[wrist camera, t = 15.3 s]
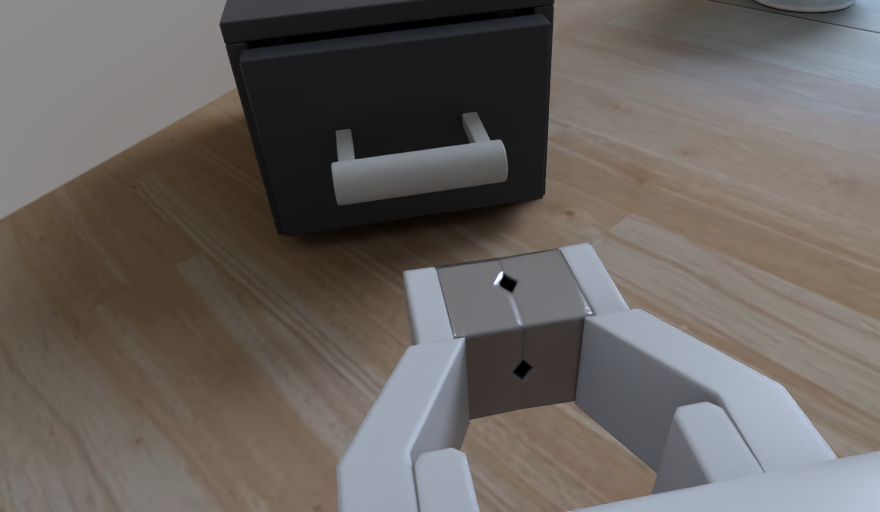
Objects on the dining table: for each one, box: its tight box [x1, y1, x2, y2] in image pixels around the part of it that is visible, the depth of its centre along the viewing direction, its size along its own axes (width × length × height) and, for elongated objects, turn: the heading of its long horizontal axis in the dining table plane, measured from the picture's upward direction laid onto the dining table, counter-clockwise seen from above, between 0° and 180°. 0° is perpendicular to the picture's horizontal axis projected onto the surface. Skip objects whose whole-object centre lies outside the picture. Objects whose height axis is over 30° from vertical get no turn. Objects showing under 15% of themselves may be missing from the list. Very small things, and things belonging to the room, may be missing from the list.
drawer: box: [239, 9, 551, 236], centre depth 29 cm, size 18×11×8 cm, turn 9°
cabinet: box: [220, 0, 554, 234], centre depth 32 cm, size 15×13×10 cm
